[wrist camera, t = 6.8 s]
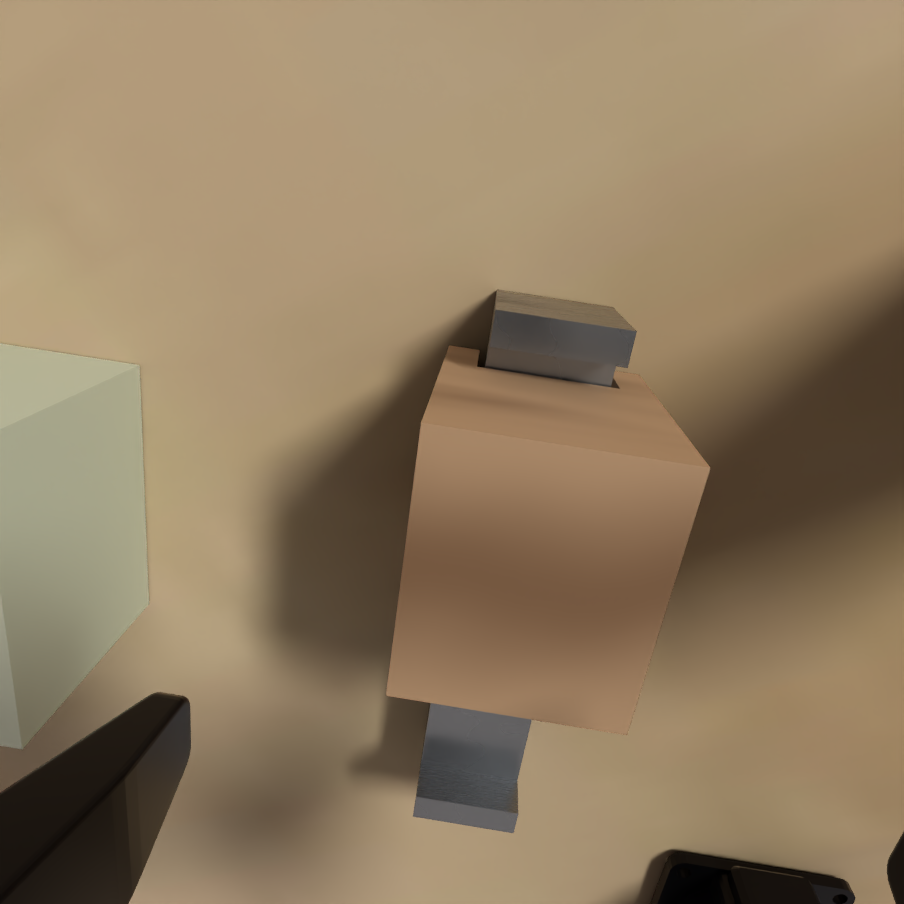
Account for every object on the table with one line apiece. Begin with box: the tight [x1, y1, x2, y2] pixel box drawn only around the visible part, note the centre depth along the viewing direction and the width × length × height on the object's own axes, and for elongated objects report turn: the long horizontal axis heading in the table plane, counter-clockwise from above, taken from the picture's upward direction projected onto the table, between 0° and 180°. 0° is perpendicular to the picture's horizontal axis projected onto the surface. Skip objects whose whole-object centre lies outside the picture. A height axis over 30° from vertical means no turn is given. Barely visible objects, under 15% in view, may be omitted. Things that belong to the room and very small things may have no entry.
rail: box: [413, 290, 637, 833], centre depth 18 cm, size 15×3×3 cm, turn 172°
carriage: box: [386, 345, 710, 735], centre depth 15 cm, size 6×5×6 cm
